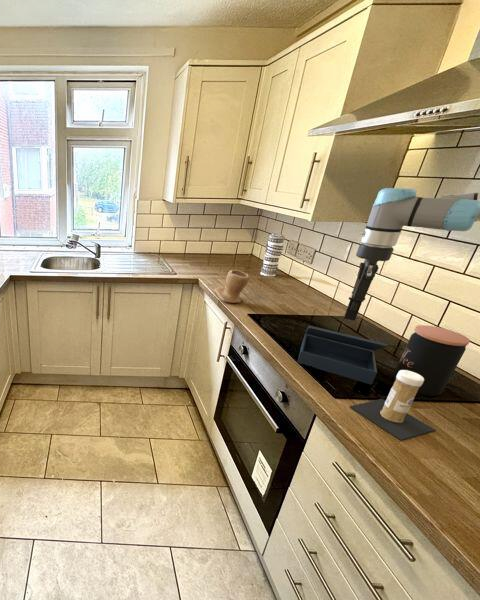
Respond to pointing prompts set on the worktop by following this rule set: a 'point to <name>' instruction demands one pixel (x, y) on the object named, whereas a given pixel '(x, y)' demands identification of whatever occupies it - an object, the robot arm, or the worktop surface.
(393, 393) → the sprinkles bottle
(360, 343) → the chest lid
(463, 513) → the worktop surface
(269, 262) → the leaning tower model
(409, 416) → the mat
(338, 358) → the chest
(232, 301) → the stone cup
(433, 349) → the coffee jar
